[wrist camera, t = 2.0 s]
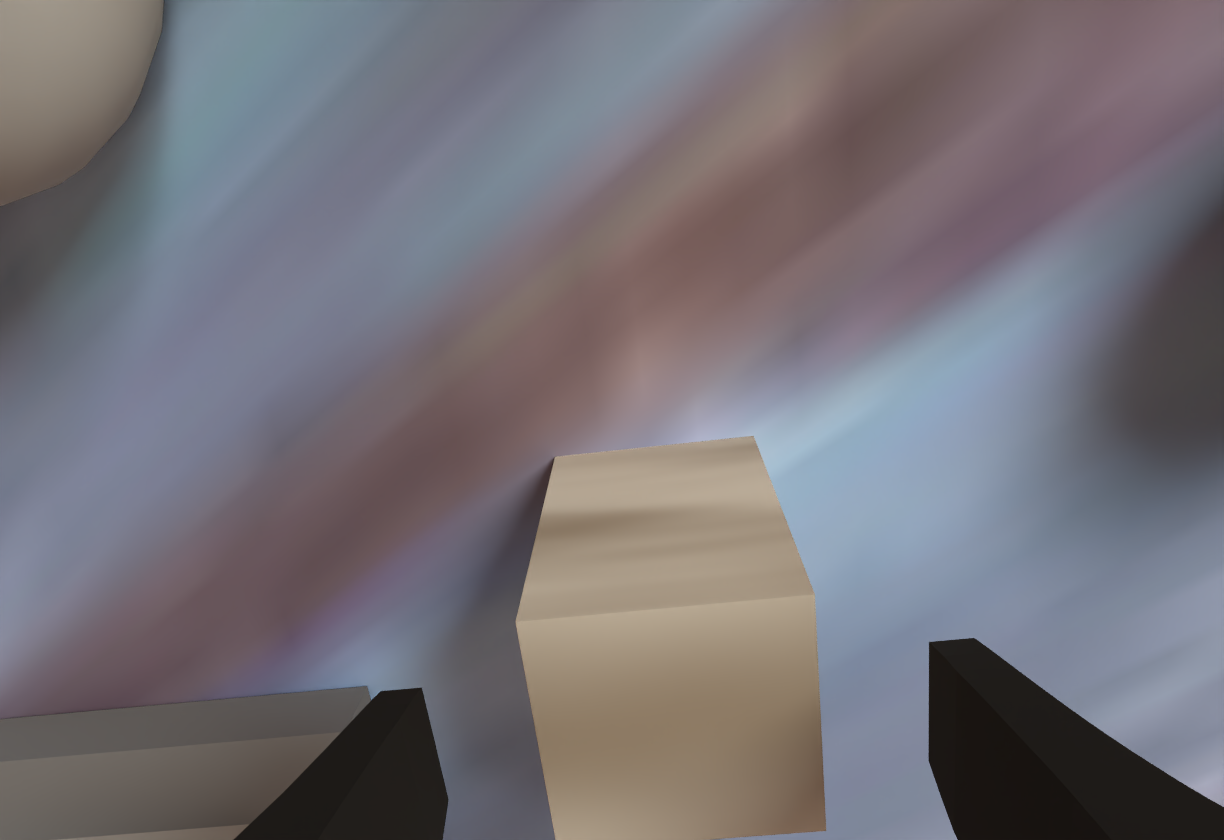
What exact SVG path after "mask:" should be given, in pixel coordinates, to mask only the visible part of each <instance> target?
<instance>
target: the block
mask: <svg viewBox="0 0 1224 840" xmlns="http://www.w3.org/2000/svg"><path fill="white" fill-rule="evenodd" d="M516 628H517V633H518V639H519V644H520V649H521V655H522V660H523V666H524V671H525V677H526V682H527V687H528V693H529V698H530V704H531V709H532V714H533V720H534V725H535V731H536V736H537V741H538V747H539V752H540V758H541V763H542V769H543V774H544V779H545V785H546V790H547V796H548V801H549V806H550V812H551V817H552V823H553V828H554V834H555V839H556V840H708V839H722V838H735V837H749V836H762V835H775V834H789V833H802V832H816V831H826V818H825V797H824V776H823V756H822V735H821V714H820V694H819V673H818V652H817V632H816V611H815V594H814V591H813V589H812V586H811V584H810V581H809V578H808V576H807V573H806V571H805V568H804V565H803V563H802V560H801V558H800V555H799V553H798V550H797V547H796V545H795V542H794V540H793V537H792V534H791V532H790V529H789V527H788V524H787V521H786V519H785V516H784V514H783V511H782V509H781V506H780V503H779V501H778V498H777V496H776V493H775V490H774V488H773V485H772V483H771V480H770V478H769V475H768V472H767V470H766V467H765V465H764V462H763V459H762V457H761V454H760V452H759V449H758V446H757V444H756V441H755V439H754V436H748V437H739V438H729V439H720V440H710V441H701V442H691V443H682V444H672V445H663V446H653V447H644V448H634V449H625V450H615V451H606V452H596V453H587V454H577V455H568V456H558V457H555V459H554V463H553V467H552V472H551V476H550V480H549V484H548V488H547V492H546V497H545V501H544V505H543V509H542V513H541V517H540V522H539V526H538V530H537V534H536V538H535V542H534V547H533V551H532V555H531V559H530V563H529V567H528V572H527V576H526V580H525V584H524V588H523V593H522V597H521V601H520V605H519V609H518V613H517V618H516Z"/></svg>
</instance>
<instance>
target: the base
mask: <svg viewBox="0 0 1224 840" xmlns="http://www.w3.org/2000/svg"><path fill="white" fill-rule="evenodd" d="M370 701H371V699H370V695H369V691H368V688H367V686H364V687H353V688H341V689H330V690H319V691H308V692H297V693H286V694H275V695H264V696H253V697H242V698H231V699H219V700H208V701H197V702H186V703H175V704H164V705H153V706H142V707H131V708H120V709H109V710H97V711H86V712H75V713H64V714H53V715H42V716H31V717H20V718H9V719H0V840H234V839H235V838H236V837H237V836H238V835H239V834H240V833H241V832H242V831H243V830H244V829H245V828H246V827H247V826H248V825H249V824H250V823H251V822H253V821H254V820H255V819H256V818H257V817H258V816H259V815H260V814H261V813H262V812H263V811H264V810H265V809H266V808H267V807H268V806H269V805H270V804H271V803H273V802H274V801H275V800H276V799H277V798H278V797H279V796H280V795H281V794H282V793H283V792H284V791H285V790H286V789H287V788H288V787H289V786H290V785H291V784H292V783H293V782H294V781H295V780H296V779H297V778H298V777H299V776H300V775H301V774H302V773H303V771H304V770H305V769H306V768H307V767H308V766H309V765H310V764H311V763H312V762H313V761H314V760H315V759H316V758H317V757H318V756H319V755H320V754H321V753H322V752H323V751H324V750H325V749H326V748H327V747H328V746H329V745H330V744H331V742H332V741H333V740H334V739H335V738H336V737H337V736H338V735H339V734H340V733H341V732H342V731H343V730H344V729H345V728H346V727H347V725H348V724H349V723H350V722H351V721H352V720H353V719H354V718H355V717H356V716H357V715H358V714H359V713H360V712H361V711H362V710H363V709H364V708H365V707H366V705H367V704H368V703H369V702H370Z"/></svg>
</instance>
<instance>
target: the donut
mask: <svg viewBox="0 0 1224 840" xmlns="http://www.w3.org/2000/svg"><path fill="white" fill-rule="evenodd" d="M163 6H164V0H0V206H3V205H6V204H8V203H11V202H14V201H17V200H19V199H22V198H25V197H27V196H30V195H33V194H36V193H38V192H41V191H44V190H46V189H49V188H52V187H55V186H57V185H60V184H61V183H63V182H64V181H65V180H67V179H68V178H70V177H71V176H73V175H74V174H76V173H77V172H78V171H80V170H81V169H83V168H84V167H85V166H86V165H87V164H88V163H89V162H90V160H91V159H92V158H93V157H94V156H95V155H96V154H97V153H98V151H99V150H100V149H101V148H102V147H103V146H104V145H105V144H106V142H107V141H108V140H109V139H110V138H111V137H112V136H113V135H114V133H115V132H116V131H117V130H118V129H119V128H120V127H121V126H122V125H123V123H124V122H125V121H126V120H127V119H128V118H129V116H130V114H131V112H132V110H133V108H134V106H135V104H136V102H137V100H138V98H139V96H140V93H141V90H142V87H143V84H144V81H145V79H146V76H147V73H148V70H149V67H150V64H151V61H152V58H153V55H154V53H155V50H156V47H157V44H158V41H159V38H160V35H161V32H162V20H163Z"/></svg>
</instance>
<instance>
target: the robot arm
mask: <svg viewBox="0 0 1224 840" xmlns="http://www.w3.org/2000/svg"><path fill="white" fill-rule="evenodd" d="M929 763H930V766H931V769H932V772H933V775H934V778H935V780H936V783H937V786H938V789H939V792H940V795H941V798H942V801H943V803H944V806H945V809H946V811H947V814H948V817H949V820H950V822H951V825H952V828H953V830H954V833H955V835H956V837H957V839H958V840H1224V807H1222V806H1221V805H1219V804H1217V803H1215V802H1213V801H1212V800H1210V799H1208V798H1206V797H1205V796H1203V795H1201V794H1200V793H1198V792H1196V791H1194V790H1193V789H1191V788H1189V787H1188V786H1186V785H1184V784H1183V783H1181V782H1179V781H1178V780H1176V779H1175V778H1173V777H1171V776H1170V775H1168V774H1167V773H1165V772H1164V771H1162V770H1160V769H1159V768H1157V767H1156V766H1154V765H1153V764H1151V763H1149V762H1148V761H1146V760H1145V759H1143V758H1142V757H1140V756H1138V755H1137V754H1135V753H1134V752H1132V751H1131V750H1129V749H1128V748H1126V747H1125V746H1123V745H1122V744H1120V743H1119V742H1117V741H1116V740H1114V739H1113V738H1111V737H1110V736H1108V735H1107V734H1105V733H1104V732H1102V731H1101V730H1099V729H1098V728H1097V727H1095V726H1094V725H1092V724H1091V723H1089V722H1088V721H1086V720H1085V719H1084V718H1082V717H1081V716H1079V715H1078V714H1077V713H1075V712H1074V711H1072V710H1071V709H1070V708H1068V707H1067V706H1065V705H1064V704H1063V703H1061V702H1060V701H1059V700H1057V699H1056V698H1054V697H1053V696H1052V695H1050V694H1049V693H1048V692H1046V691H1045V690H1044V689H1042V688H1041V687H1039V686H1038V685H1037V684H1035V683H1034V682H1033V681H1031V680H1030V679H1029V678H1027V677H1026V676H1025V675H1023V674H1022V673H1021V672H1019V671H1018V670H1017V669H1015V668H1014V667H1013V666H1011V665H1010V664H1009V663H1007V662H1006V661H1005V660H1003V659H1002V658H1001V657H999V656H998V655H997V654H995V653H994V652H993V651H991V650H990V649H989V648H987V647H986V646H985V645H983V644H982V643H980V642H979V641H978V640H976V639H975V638H969V639H958V640H947V641H936V642H929ZM447 806H448V796H447V792H446V788H445V783H444V779H443V775H442V771H441V767H440V762H439V758H438V754H437V750H436V746H435V741H434V737H433V733H432V729H431V725H430V720H429V716H428V712H427V708H426V704H425V699H424V695H423V691H422V688H412V689H401V690H390V691H381V692H380V693H379V694H378V695H377V696H375V697H374V698H373V699H372V700H371V701H370V702H369V703H368V704H367V705H366V707H365V708H364V709H363V710H362V711H361V712H360V713H359V714H358V715H357V716H356V717H355V718H354V719H353V720H352V721H351V722H350V723H349V724H348V725H347V727H346V728H345V729H344V730H343V731H342V732H341V733H340V734H339V735H338V736H337V737H336V738H335V739H334V740H333V741H332V742H331V744H330V745H329V746H328V747H327V748H326V749H325V750H324V751H323V752H322V753H321V754H320V755H319V756H318V757H317V758H316V759H315V760H314V761H313V762H312V763H311V764H310V765H309V766H308V767H307V768H306V769H305V770H304V771H303V773H302V774H301V775H300V776H299V777H298V778H297V779H296V780H295V781H294V782H293V783H292V784H291V785H290V786H289V787H288V788H287V789H286V790H285V791H284V792H283V793H282V794H281V795H280V796H279V797H278V798H277V799H276V800H275V801H274V802H273V803H271V804H270V805H269V806H268V807H267V808H266V809H265V810H264V811H263V812H262V813H261V814H260V815H259V816H258V817H257V818H256V819H255V820H254V821H253V822H251V823H250V824H249V825H248V826H247V827H246V828H245V829H244V830H243V831H242V832H241V833H240V834H239V835H238V836H237V837H236V838H235V839H234V840H442V839H443V833H444V826H445V819H446V813H447Z"/></svg>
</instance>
